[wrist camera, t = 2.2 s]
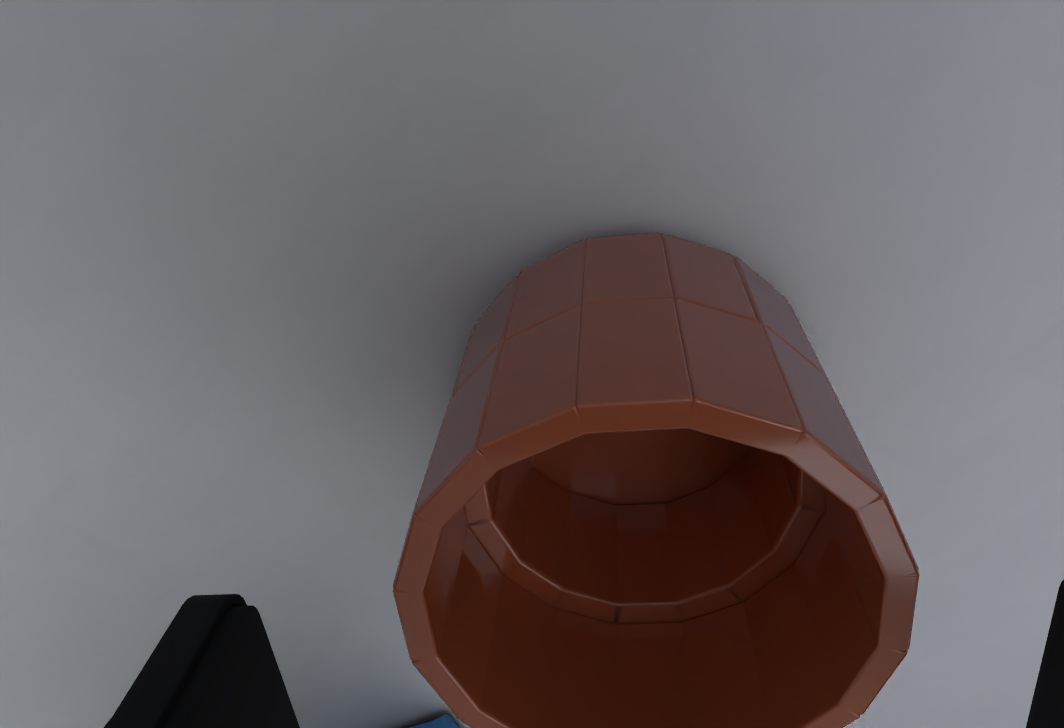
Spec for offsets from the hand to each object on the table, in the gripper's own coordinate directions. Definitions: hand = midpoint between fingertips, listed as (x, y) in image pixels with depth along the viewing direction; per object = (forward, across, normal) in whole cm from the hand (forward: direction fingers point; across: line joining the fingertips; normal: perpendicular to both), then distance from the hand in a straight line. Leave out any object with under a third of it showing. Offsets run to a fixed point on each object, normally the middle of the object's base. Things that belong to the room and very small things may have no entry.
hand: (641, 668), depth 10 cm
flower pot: (+7, 0, 0) cm, 7 cm away
